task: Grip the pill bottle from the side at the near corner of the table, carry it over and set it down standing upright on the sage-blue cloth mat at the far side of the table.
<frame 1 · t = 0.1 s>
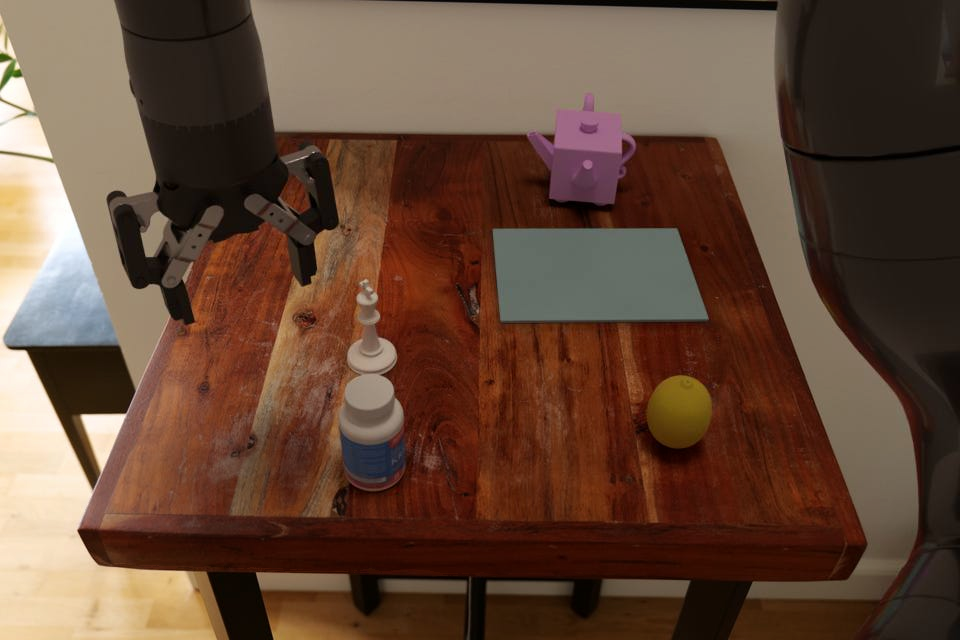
hand: (246, 297, 61), 20 cm above the table, tool pointing down, fingers open, 8 cm apart
chess piece: (372, 359, 85), on the table
cloth mat: (594, 274, 95), on the table
pill bottle: (375, 469, 75), on the table
lemon: (670, 443, 78), on the table
teapot: (575, 189, 108), on the table
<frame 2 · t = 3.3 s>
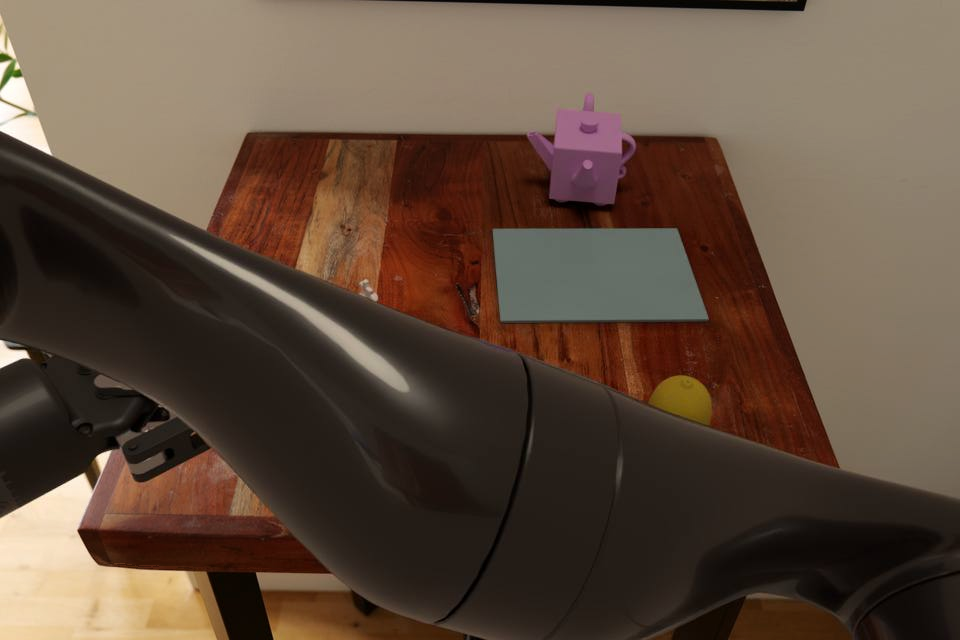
hand: (236, 324, 56), 22 cm above the table, tool horizontal, fingers open, 8 cm apart
nothing on the table moved.
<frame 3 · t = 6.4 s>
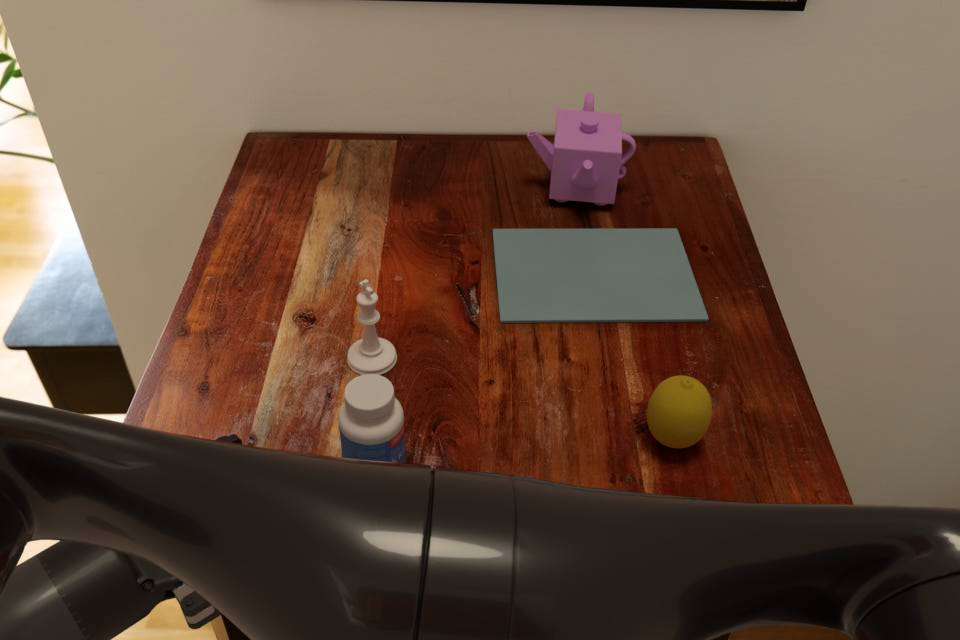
hand: (269, 476, 65), 7 cm above the table, tool horizontal, fingers open, 8 cm apart
nothing on the table moved.
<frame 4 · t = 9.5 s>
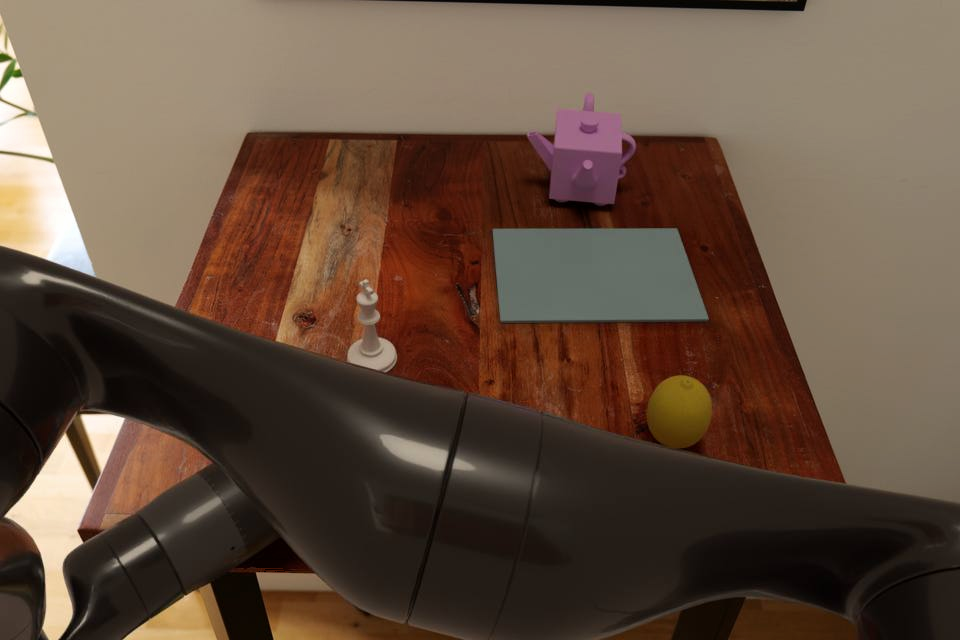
hand: (395, 407, 72), 6 cm above the table, tool horizontal, fingers closed on pill bottle, 5 cm apart
pill bottle: (375, 469, 75), on the table, touching gripper
everything else where it was.
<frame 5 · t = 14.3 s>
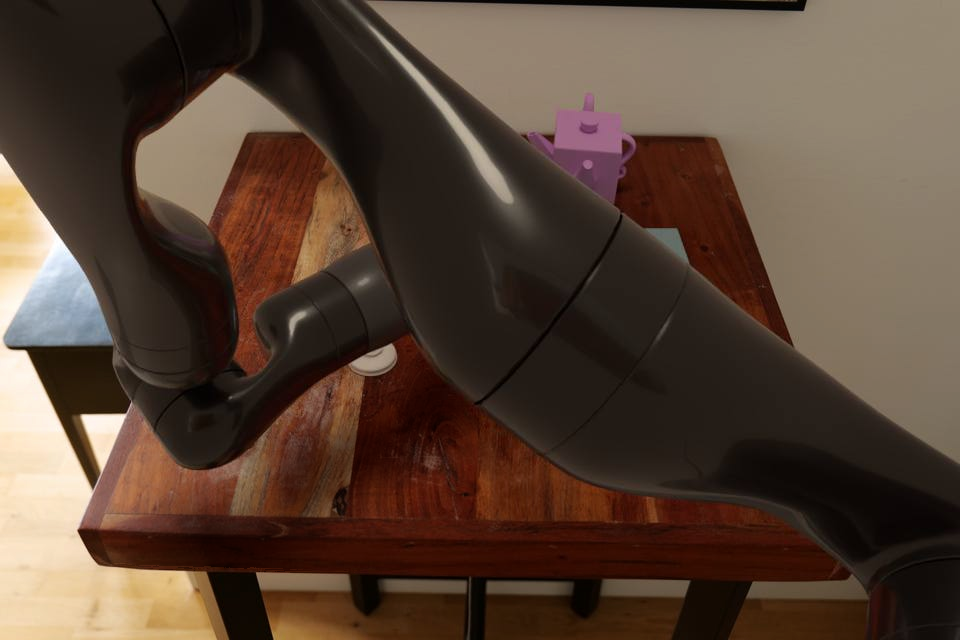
hand: (542, 207, 74), 18 cm above the table, tool horizontal, fingers closed on pill bottle, 5 cm apart
pill bottle: (517, 275, 77), point 11 cm above the table, touching gripper
everything else where it was.
when the fingers open (6 cm above the table, at t = 19.6 s): pill bottle stays where it is, resting on cloth mat.
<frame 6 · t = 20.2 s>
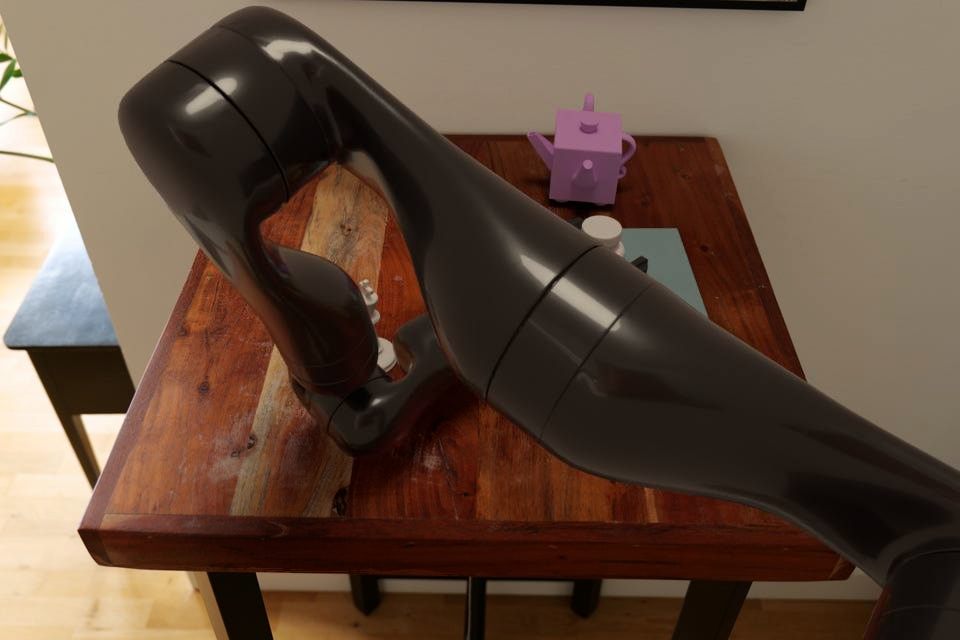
hand: (612, 244, 88), 7 cm above the table, tool horizontal, fingers open, 8 cm apart
pill bottle: (590, 302, 92), resting on cloth mat
everything else where it was.
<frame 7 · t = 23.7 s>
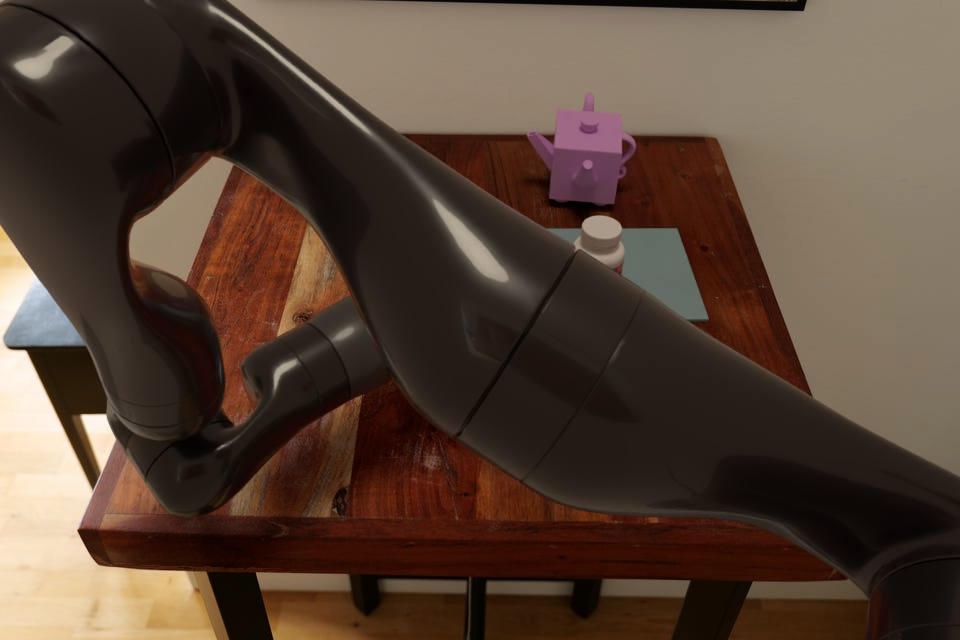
hand: (516, 255, 77), 13 cm above the table, tool horizontal, fingers open, 8 cm apart
nothing on the table moved.
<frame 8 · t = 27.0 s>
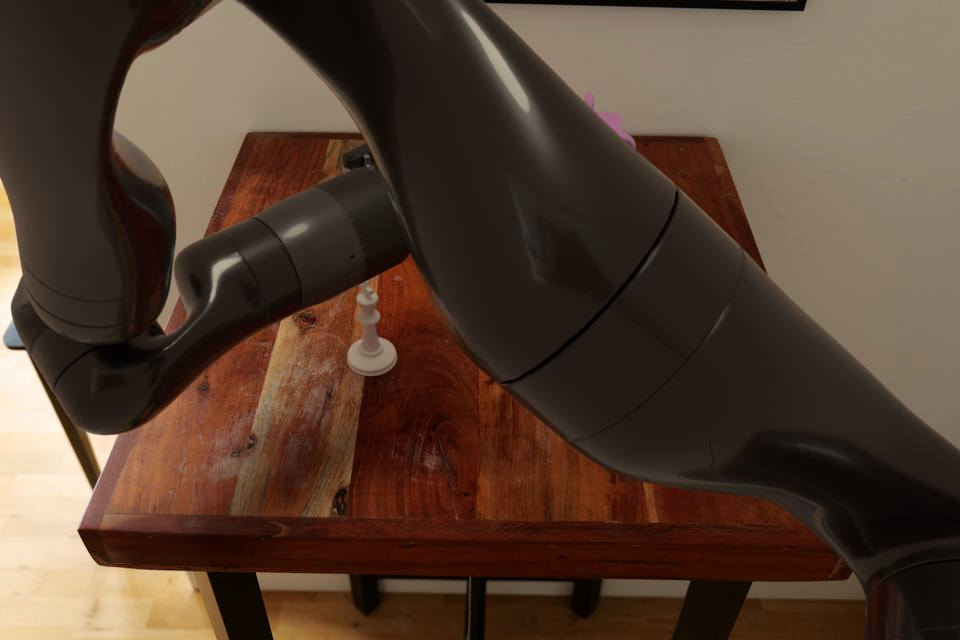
hand: (498, 159, 68), 24 cm above the table, tool horizontal, fingers open, 8 cm apart
nothing on the table moved.
at the end: pill bottle inside the target area on the cloth mat (5.2 cm from its centre), point 0.2 cm above the cloth mat's base; pill bottle tilted 0° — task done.
